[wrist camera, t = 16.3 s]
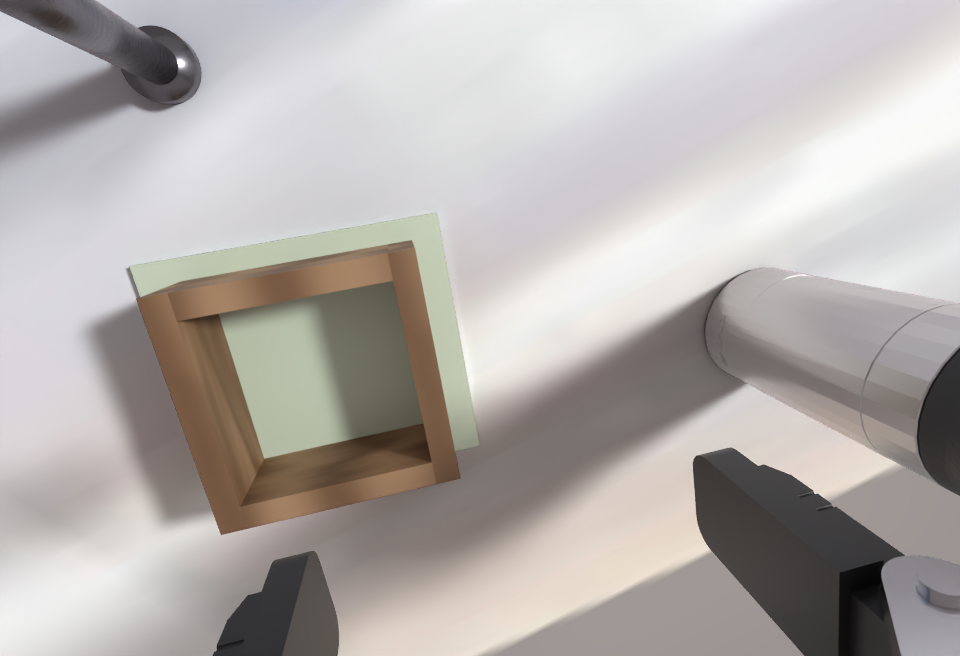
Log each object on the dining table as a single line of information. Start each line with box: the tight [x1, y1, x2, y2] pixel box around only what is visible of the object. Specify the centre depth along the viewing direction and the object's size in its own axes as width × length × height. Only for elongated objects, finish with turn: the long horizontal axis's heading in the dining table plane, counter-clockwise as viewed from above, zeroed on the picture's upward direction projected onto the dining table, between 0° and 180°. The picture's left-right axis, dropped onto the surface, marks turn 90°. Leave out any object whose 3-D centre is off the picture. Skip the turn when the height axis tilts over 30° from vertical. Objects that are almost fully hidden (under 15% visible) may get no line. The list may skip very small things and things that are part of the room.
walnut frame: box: [136, 240, 460, 535], centre depth 33 cm, size 15×15×6 cm
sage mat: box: [130, 213, 480, 459], centre depth 36 cm, size 20×18×1 cm
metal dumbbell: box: [0, 0, 201, 105], centre depth 21 cm, size 4×4×19 cm
